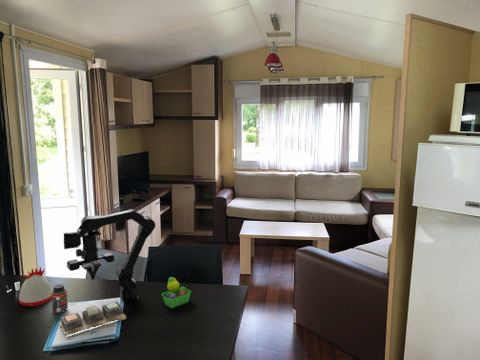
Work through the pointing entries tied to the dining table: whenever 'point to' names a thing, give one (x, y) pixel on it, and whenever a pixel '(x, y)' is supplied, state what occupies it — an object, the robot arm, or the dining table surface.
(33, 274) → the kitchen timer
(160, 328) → the dining table surface
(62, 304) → the supplement bottle
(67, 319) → the button terracotta
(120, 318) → the button panel
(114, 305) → the button sage
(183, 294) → the fruit basket
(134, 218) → the robot arm
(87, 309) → the button cream
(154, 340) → the dining table surface
